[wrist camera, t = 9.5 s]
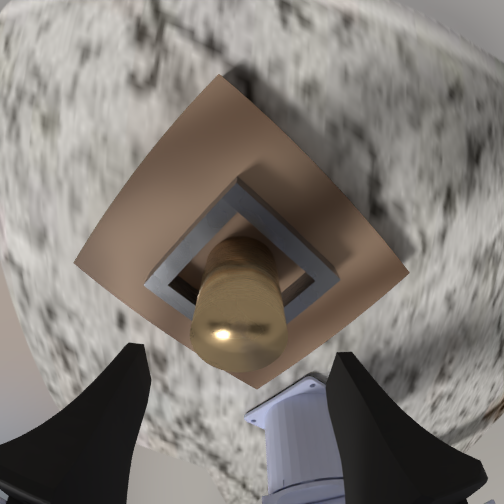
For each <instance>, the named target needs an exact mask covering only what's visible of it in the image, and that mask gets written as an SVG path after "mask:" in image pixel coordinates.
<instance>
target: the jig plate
mask: <svg viewBox="0 0 504 504" xmlns="http://www.w3.org/2000/svg"><path fill="white" fill-rule="evenodd" d="M237 176H238V177H239V178H240V179H241V180H243V181H244V182H245V183H246V184H247V185H248V186H249V187H250V188H251V189H253V190H254V191H255V192H256V193H257V194H258V195H259V196H260V197H261V198H262V199H264V200H265V201H266V202H267V203H268V204H269V205H270V206H271V207H272V208H273V209H274V210H275V211H277V212H278V213H279V214H280V215H281V216H282V217H283V218H284V219H285V220H286V221H287V222H288V223H289V224H290V225H292V226H293V227H294V228H295V229H296V230H297V231H298V232H299V233H300V234H301V235H302V236H303V237H304V238H305V239H306V240H307V241H308V242H309V243H311V244H312V245H313V246H314V247H315V248H316V249H317V250H318V251H319V252H320V253H321V254H322V255H323V256H324V257H325V258H326V259H327V260H328V261H329V262H330V263H331V264H332V265H333V266H334V267H335V269H336V271H337V273H338V275H339V277H340V279H341V280H340V281H339V282H338V283H337V284H335V285H334V286H333V287H332V288H331V289H330V290H328V291H327V292H326V293H325V294H324V295H322V296H321V297H320V298H319V299H318V300H316V301H315V302H314V303H313V304H311V305H310V306H309V307H308V308H307V309H305V310H304V311H303V312H302V313H300V314H299V315H298V316H297V317H295V318H294V319H293V320H292V321H290V322H289V323H288V324H287V331H288V341H287V345H286V348H285V350H284V352H283V353H282V354H281V356H280V357H279V358H278V359H277V360H276V361H274V362H273V363H271V364H270V365H268V366H266V367H264V368H262V369H259V370H255V371H250V372H229V371H226V372H228V373H229V374H231V375H233V376H234V377H236V378H238V379H240V380H241V381H243V382H245V383H246V384H248V385H250V386H252V387H253V388H255V389H258V388H260V387H261V386H263V385H264V384H266V383H267V382H269V381H270V380H272V379H273V378H275V377H276V376H278V375H279V374H281V373H282V372H284V371H285V370H287V369H288V368H290V367H291V366H293V365H294V364H295V363H297V362H298V361H300V360H301V359H303V358H304V357H305V356H307V355H308V354H310V353H311V352H312V351H314V350H315V349H316V348H318V347H319V346H320V345H322V344H323V343H325V342H326V341H327V340H329V339H330V338H331V337H333V336H334V335H335V334H336V333H338V332H339V331H340V330H342V329H343V328H344V327H346V326H347V325H348V324H349V323H351V322H352V321H353V320H354V319H356V318H357V317H358V316H359V315H361V314H362V313H363V312H364V311H366V310H367V309H368V308H369V307H371V306H372V305H373V304H374V303H375V302H377V301H378V300H379V299H380V298H381V297H383V296H384V295H385V294H386V293H387V292H388V291H390V290H391V289H392V288H393V287H394V286H395V285H396V284H398V283H399V282H400V281H401V280H402V279H403V278H404V277H406V276H407V275H408V274H409V271H408V270H407V269H406V267H405V266H404V265H403V264H402V262H401V261H400V260H399V258H398V257H397V256H396V255H395V253H394V252H393V251H392V250H391V248H390V247H389V246H388V245H387V244H386V242H385V241H384V240H383V239H382V237H381V236H380V235H379V234H378V233H377V231H376V230H375V229H374V228H373V227H372V226H371V224H370V223H369V222H368V221H367V220H366V219H365V217H364V216H363V215H362V214H361V213H360V212H359V211H358V209H357V208H356V207H355V206H354V205H353V204H352V203H351V201H350V200H349V199H348V198H347V197H346V196H345V195H344V194H343V193H342V191H341V190H340V189H339V188H338V187H337V186H336V185H335V184H334V183H333V182H332V181H331V180H330V179H329V177H328V176H327V175H326V174H325V173H324V172H323V171H322V170H321V169H320V168H319V167H318V166H317V165H316V164H315V163H314V162H313V161H312V160H311V159H310V158H309V157H308V156H307V155H306V154H305V153H304V152H303V151H302V150H301V149H300V148H299V147H298V146H297V145H296V144H295V143H294V142H293V141H292V140H291V139H290V138H289V137H288V136H287V135H286V134H285V133H284V132H283V131H282V130H281V129H280V128H279V127H278V126H277V125H276V124H275V123H274V122H273V121H272V120H271V119H269V118H268V117H267V116H266V115H265V114H264V113H263V112H262V111H261V110H260V109H259V108H258V107H256V106H255V105H254V104H253V103H252V102H251V101H250V100H249V99H248V98H246V97H245V96H244V95H243V94H242V93H241V92H240V91H238V90H237V89H236V88H235V87H234V86H233V85H232V84H230V83H229V82H228V81H227V80H226V79H225V78H223V77H222V76H221V75H220V74H218V75H217V76H216V77H215V79H214V80H213V81H212V82H211V83H210V84H209V85H208V86H207V87H206V88H205V89H204V90H203V91H202V92H201V93H200V94H199V95H198V96H197V98H196V99H195V100H194V101H193V102H192V103H191V104H190V105H189V106H188V107H187V109H186V110H185V111H184V112H183V113H182V114H181V115H180V116H179V118H178V119H177V120H176V121H175V122H174V123H173V125H172V126H171V127H170V128H169V129H168V130H167V132H166V133H165V134H164V135H163V136H162V138H161V139H160V140H159V141H158V143H157V144H156V145H155V146H154V147H153V149H152V150H151V151H150V152H149V154H148V155H147V156H146V158H145V159H144V160H143V161H142V163H141V164H140V165H139V167H138V168H137V169H136V171H135V172H134V173H133V175H132V176H131V177H130V179H129V180H128V181H127V183H126V184H125V185H124V187H123V188H122V189H121V191H120V192H119V194H118V195H117V197H116V198H115V199H114V201H113V202H112V204H111V205H110V207H109V208H108V209H107V211H106V212H105V214H104V215H103V217H102V218H101V220H100V221H99V223H98V224H97V226H96V227H95V229H94V231H93V232H92V234H91V235H90V237H89V238H88V240H87V242H86V243H85V245H84V246H83V248H82V250H81V251H80V253H79V254H78V256H77V258H76V259H75V261H74V264H75V265H77V266H78V267H79V268H80V269H81V270H83V271H84V272H85V273H86V274H87V275H89V276H90V277H91V278H92V279H94V280H95V281H96V282H97V283H99V284H100V285H101V286H102V287H104V288H105V289H106V290H108V291H109V292H110V293H111V294H113V295H114V296H115V297H117V298H118V299H119V300H121V301H122V302H123V303H125V304H126V305H127V306H129V307H130V308H131V309H133V310H134V311H136V312H137V313H138V314H140V315H141V316H142V317H144V318H145V319H147V320H148V321H149V322H151V323H152V324H154V325H155V326H157V327H158V328H159V329H161V330H162V331H164V332H165V333H167V334H168V335H170V336H171V337H173V338H174V339H176V340H177V341H179V342H180V343H182V344H183V345H185V346H186V347H188V348H189V349H191V350H192V351H194V352H195V350H194V349H193V347H192V344H191V341H190V329H191V324H192V321H191V320H190V319H189V318H187V317H186V316H184V315H183V314H181V313H180V312H179V311H177V310H176V309H174V308H173V307H172V306H170V305H169V304H168V303H166V302H165V301H164V300H162V299H161V298H159V297H158V296H157V295H155V294H154V293H153V292H151V291H150V290H149V289H147V288H146V287H145V286H144V283H145V281H146V279H147V277H148V275H149V273H150V271H151V270H152V269H153V268H154V267H155V266H156V264H157V263H158V262H159V261H160V260H161V259H162V258H163V256H164V255H165V254H166V253H167V252H168V251H169V249H170V248H171V247H172V246H173V245H174V244H175V243H176V242H177V240H178V239H179V238H180V237H181V236H182V235H183V234H184V233H185V231H186V230H187V229H188V228H189V227H190V226H191V225H192V224H193V223H194V222H195V220H196V219H197V218H198V217H199V216H200V215H201V214H202V213H203V212H204V211H205V210H206V208H207V207H208V206H209V205H210V204H211V203H212V202H213V201H214V200H215V199H216V198H217V197H218V196H219V195H220V193H221V192H222V191H223V190H224V189H225V188H226V187H227V186H228V185H229V184H230V183H231V182H232V181H233V180H234V179H235V178H236V177H237ZM237 236H245V237H250V238H254V239H256V240H259V241H260V242H262V243H263V244H265V245H266V246H267V247H268V248H269V249H270V250H271V252H272V253H273V255H274V258H275V261H276V266H277V271H278V277H279V283H280V289H281V293H282V292H283V291H284V290H285V289H286V288H288V287H289V286H290V285H291V284H292V283H293V282H295V281H296V280H297V279H298V278H299V277H300V276H302V275H303V274H304V273H305V271H304V270H303V269H302V268H300V267H299V266H298V265H297V264H296V263H295V262H294V261H293V260H292V259H290V258H289V257H288V256H287V255H286V254H285V253H284V252H283V251H281V250H280V249H279V248H278V247H277V246H276V245H275V244H274V243H272V242H271V241H270V240H269V239H268V238H267V237H266V236H265V235H263V234H262V233H261V232H260V231H259V230H258V229H257V228H255V227H254V226H253V225H252V224H251V223H250V222H249V221H248V220H246V219H245V218H244V217H243V216H242V215H241V214H240V213H238V212H237V213H236V214H235V215H234V216H233V217H232V218H231V219H230V220H229V221H228V222H227V223H226V224H225V225H224V226H223V227H222V228H221V230H220V231H219V232H218V233H217V234H216V235H215V236H214V237H213V238H212V239H211V240H210V241H209V242H208V243H207V244H206V245H205V246H204V247H203V248H202V249H201V250H200V251H199V252H198V253H197V254H196V256H195V257H194V258H193V259H192V260H191V261H190V262H189V263H188V264H187V265H186V266H185V267H184V268H183V269H182V270H181V271H180V272H179V274H178V276H180V277H181V278H182V279H184V280H185V281H186V282H187V283H189V284H190V285H191V286H193V287H194V288H195V289H197V290H198V291H199V290H200V285H201V281H202V277H203V273H204V269H205V265H206V261H207V257H208V255H209V253H210V252H211V250H212V249H213V248H214V247H215V246H216V245H217V244H218V243H220V242H221V241H223V240H225V239H228V238H231V237H237ZM195 353H196V352H195Z"/></svg>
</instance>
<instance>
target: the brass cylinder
mask: <svg viewBox="0 0 504 504" xmlns="http://www.w3.org/2000/svg"><path fill="white" fill-rule="evenodd" d="M190 341H191V344H192V347H193V349H194V350H195V352H196V353H197V354H198V356H199V357H200V358H201V359H202V360H204V361H205V362H206V363H208V364H210V365H211V366H213V367H216V368H218V369H221V370H224V371H229V372H250V371H255V370H259V369H262V368H264V367H266V366H268V365H270V364H271V363H273V362H274V361H276V360H277V359H278V358H279V357H280V356H281V354H282V353H283V352H284V350H285V348H286V345H287V341H288V331H287V325H286V319H285V313H284V307H283V301H282V295H281V289H280V283H279V277H278V271H277V266H276V261H275V258H274V255H273V253H272V252H271V250H270V249H269V248H268V247H267V246H266V245H265V244H263V243H262V242H260V241H259V240H256V239H254V238H250V237H245V236H237V237H231V238H228V239H225V240H223V241H221V242H220V243H218V244H217V245H216V246H215V247H214V248H213V249H212V250H211V252H210V253H209V255H208V257H207V261H206V265H205V269H204V273H203V277H202V281H201V285H200V290H199V294H198V298H197V302H196V307H195V311H194V315H193V320H192V324H191V329H190Z"/></svg>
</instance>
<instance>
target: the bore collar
mask: <svg viewBox="0 0 504 504" xmlns="http://www.w3.org/2000/svg"><path fill="white" fill-rule="evenodd" d="M237 212H238V213H240V214H241V215H242V216H243V217H244V218H245V219H246V220H248V221H249V222H250V223H251V224H252V225H253V226H254V227H255V228H257V229H258V230H259V231H260V232H261V233H262V234H263V235H265V236H266V237H267V238H268V239H269V240H270V241H271V242H272V243H274V244H275V245H276V246H277V247H278V248H279V249H280V250H281V251H283V252H284V253H285V254H286V255H287V256H288V257H289V258H290V259H292V260H293V261H294V262H295V263H296V264H297V265H298V266H299V267H300V268H302V269H303V270H304V271H305V273H304V274H303V275H302V276H300V277H299V278H298V279H297V280H296V281H295V282H293V283H292V284H291V285H290V286H289V287H288V288H286V289H285V290H284V291H283V292H282V293H281V295H282V301H283V307H284V313H285V319H286V325H287V324H288V323H289V322H290V321H292V320H293V319H294V318H295V317H297V316H298V315H299V314H300V313H302V312H303V311H304V310H305V309H307V308H308V307H309V306H310V305H311V304H313V303H314V302H315V301H316V300H318V299H319V298H320V297H321V296H322V295H324V294H325V293H326V292H327V291H328V290H330V289H331V288H332V287H333V286H334V285H335V284H337V283H338V282H339V281H340V280H341V279H340V277H339V275H338V273H337V271H336V269H335V267H334V266H333V265H332V264H331V263H330V262H329V261H328V260H327V259H326V258H325V257H324V256H323V255H322V254H321V253H320V252H319V251H318V250H317V249H316V248H315V247H314V246H313V245H312V244H311V243H309V242H308V241H307V240H306V239H305V238H304V237H303V236H302V235H301V234H300V233H299V232H298V231H297V230H296V229H295V228H294V227H293V226H292V225H290V224H289V223H288V222H287V221H286V220H285V219H284V218H283V217H282V216H281V215H280V214H279V213H278V212H277V211H275V210H274V209H273V208H272V207H271V206H270V205H269V204H268V203H267V202H266V201H265V200H264V199H262V198H261V197H260V196H259V195H258V194H257V193H256V192H255V191H254V190H253V189H251V188H250V187H249V186H248V185H247V184H246V183H245V182H244V181H243V180H241V179H240V178H239V177H238V176H237V177H236V178H235V179H234V180H233V181H232V182H231V183H230V184H229V185H228V186H227V187H226V188H225V189H224V190H223V191H222V192H221V193H220V195H219V196H218V197H217V198H216V199H215V200H214V201H213V202H212V203H211V204H210V205H209V206H208V207H207V208H206V210H205V211H204V212H203V213H202V214H201V215H200V216H199V217H198V218H197V219H196V220H195V222H194V223H193V224H192V225H191V226H190V227H189V228H188V229H187V230H186V231H185V233H184V234H183V235H182V236H181V237H180V238H179V239H178V240H177V242H176V243H175V244H174V245H173V246H172V247H171V248H170V249H169V251H168V252H167V253H166V254H165V255H164V256H163V258H162V259H161V260H160V261H159V262H158V263H157V264H156V266H155V267H154V268H153V269H152V270H151V271H150V273H149V275H148V277H147V279H146V281H145V283H144V286H145V287H146V288H147V289H149V290H150V291H151V292H153V293H154V294H155V295H157V296H158V297H159V298H161V299H162V300H164V301H165V302H166V303H168V304H169V305H170V306H172V307H173V308H174V309H176V310H177V311H179V312H180V313H181V314H183V315H184V316H186V317H187V318H189V319H190V320H191V321H192V320H193V315H194V311H195V307H196V302H197V298H198V294H199V291H198V290H197V289H195V288H194V287H193V286H191V285H190V284H189V283H187V282H186V281H185V280H184V279H182V278H181V277H180V276H178V274H179V272H180V271H181V270H182V269H183V268H184V267H185V266H186V265H187V264H188V263H189V262H190V261H191V260H192V259H193V258H194V257H195V256H196V254H197V253H198V252H199V251H200V250H201V249H202V248H203V247H204V246H205V245H206V244H207V243H208V242H209V241H210V240H211V239H212V238H213V237H214V236H215V235H216V234H217V233H218V232H219V231H220V230H221V228H222V227H223V226H224V225H225V224H226V223H227V222H228V221H229V220H230V219H231V218H232V217H233V216H234V215H235V214H236V213H237Z"/></svg>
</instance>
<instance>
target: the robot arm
mask: <svg viewBox="0 0 504 504" xmlns="http://www.w3.org/2000/svg"><path fill="white" fill-rule="evenodd" d="M150 386H151V376H150V371H149V367H148V362H147V358H146V353H145V348H144V344H136V343H128V344H127V345H126V346H125V347H124V348H123V349H122V350H121V351H120V353H119V354H118V355H117V356H116V357H115V358H114V360H113V361H112V362H111V363H110V364H109V365H108V366H107V367H106V368H105V370H104V371H103V372H102V373H101V374H100V375H99V376H98V377H97V378H96V379H95V380H94V381H93V382H92V383H91V384H90V385H89V386H88V387H87V388H86V389H85V390H84V391H83V392H82V393H81V394H80V395H79V396H78V397H77V398H76V399H74V400H73V401H72V402H71V403H70V404H69V405H67V406H66V407H65V408H64V409H62V410H61V411H60V412H59V413H57V414H56V415H54V416H53V417H52V418H50V419H49V420H47V421H46V422H44V423H43V424H41V425H40V426H38V427H37V428H35V429H33V430H31V431H29V432H27V433H26V434H24V435H22V436H20V437H18V438H16V439H13V440H11V441H9V442H7V443H4V444H1V445H0V489H1V490H2V491H3V492H4V493H6V494H7V495H8V496H9V497H8V500H7V501H6V500H4V499H3V498H1V497H0V504H126V500H127V490H128V480H129V473H130V467H131V460H132V455H133V451H134V447H135V443H136V440H137V437H138V433H139V430H140V426H141V423H142V420H143V416H144V413H145V410H146V406H147V403H148V397H149V392H150ZM244 420H245V421H247V422H249V423H252V424H254V425H256V426H258V427H260V428H263V429H265V437H266V455H267V474H268V493H269V495H267V496H262V504H468V502H467V500H466V498H468V497H469V496H470V495H472V494H473V493H474V492H476V491H477V490H478V489H480V488H481V487H482V486H483V485H484V484H485V483H486V482H487V480H488V477H487V475H486V472H485V470H484V468H483V465H482V463H481V461H480V460H477V459H475V458H473V457H471V456H469V455H467V454H464V453H462V452H460V451H458V450H456V449H455V448H453V447H451V446H449V445H448V444H446V443H444V442H443V441H441V440H440V439H438V438H437V437H435V436H434V435H432V434H431V433H429V432H428V431H427V430H425V429H424V428H423V427H421V426H420V425H419V424H418V423H417V422H415V421H414V420H413V419H412V418H411V417H410V416H408V415H407V414H406V413H405V412H404V411H403V410H402V409H401V408H400V407H399V406H398V405H397V404H396V403H395V402H394V401H393V400H392V399H391V398H390V397H389V396H388V395H387V394H386V392H385V391H384V390H383V389H382V388H381V387H380V386H379V384H378V383H377V382H376V381H375V380H374V379H373V377H372V376H371V375H370V374H369V372H368V371H367V370H366V369H365V368H364V366H363V365H362V364H361V363H360V361H359V360H358V359H357V358H356V356H355V355H354V354H353V353H352V352H337V353H336V356H335V359H334V362H333V366H332V369H331V372H330V375H329V378H328V381H327V384H326V385H325V384H323V383H322V382H320V381H319V380H317V379H315V378H314V377H312V376H308V377H305V378H304V379H302V380H301V381H299V382H297V383H296V384H294V385H293V386H291V387H290V388H288V389H287V390H285V391H283V392H282V393H280V394H279V395H277V396H275V397H274V398H272V399H271V400H269V401H267V402H266V403H264V404H262V405H261V406H259V407H257V408H255V409H254V410H252V411H250V412H249V413H247V414H245V415H244ZM484 504H495V502H494V500H490V501H488V502H486V503H484Z"/></svg>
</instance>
